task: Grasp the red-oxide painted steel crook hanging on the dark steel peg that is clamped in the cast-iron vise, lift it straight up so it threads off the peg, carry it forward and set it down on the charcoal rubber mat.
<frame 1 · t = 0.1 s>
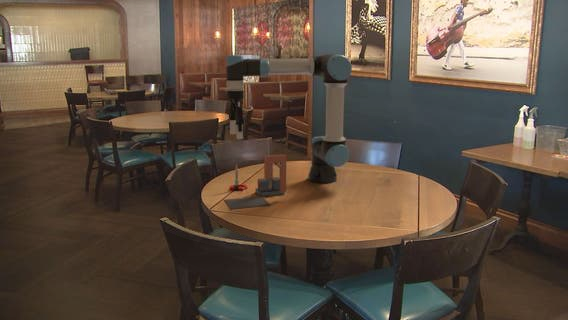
hand: (236, 136, 225), 28 cm above the table, fingers open, 13 cm apart
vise: (269, 193, 234), on the table
crook: (282, 191, 223), point 4 cm above the table, touching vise
mat: (247, 202, 219), on the table
tow hook: (238, 188, 243), on the table
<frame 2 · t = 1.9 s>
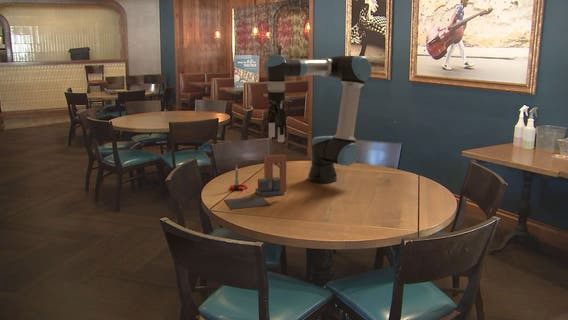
hand: (276, 139, 217), 28 cm above the table, fingers open, 13 cm apart
nothing on the table moved.
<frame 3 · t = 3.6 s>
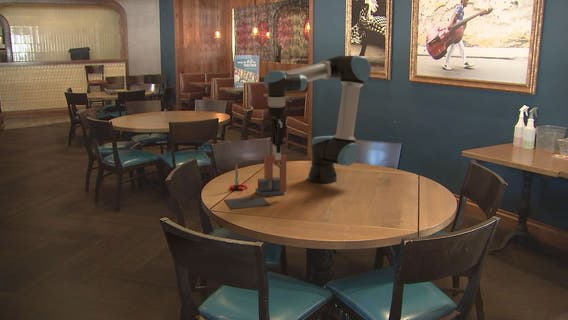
hand: (276, 158, 219), 19 cm above the table, fingers closed on crook, 2 cm apart
crook: (282, 191, 223), point 4 cm above the table, touching gripper, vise
everything else where it was.
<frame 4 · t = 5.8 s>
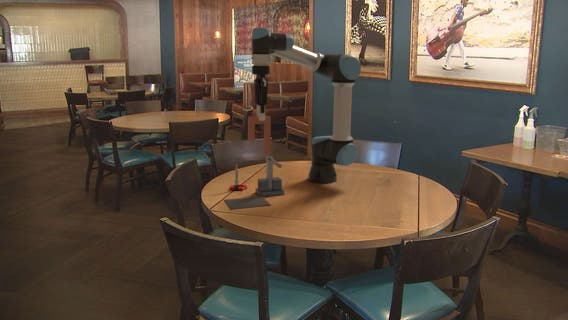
hand: (260, 119, 213), 37 cm above the table, fingers closed on crook, 2 cm apart
crook: (267, 154, 217), point 22 cm above the table, touching gripper
everything else where it was.
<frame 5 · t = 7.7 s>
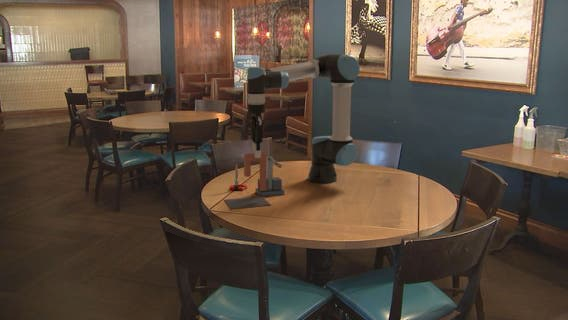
hand: (256, 156, 216), 21 cm above the table, fingers closed on crook, 2 cm apart
crook: (263, 190, 220), point 5 cm above the table, touching gripper
everything else where it was.
when the fingers open (18 cm above the table, at t = 8.3 s): crook moves 9 cm and tips over, resting on mat.
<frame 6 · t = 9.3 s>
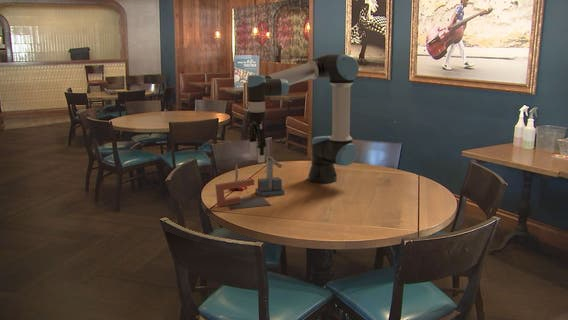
hand: (257, 159, 216), 20 cm above the table, fingers open, 13 cm apart
crook: (253, 181, 218), point 10 cm above the table, tilted 94°, touching mat
everything else where it was.
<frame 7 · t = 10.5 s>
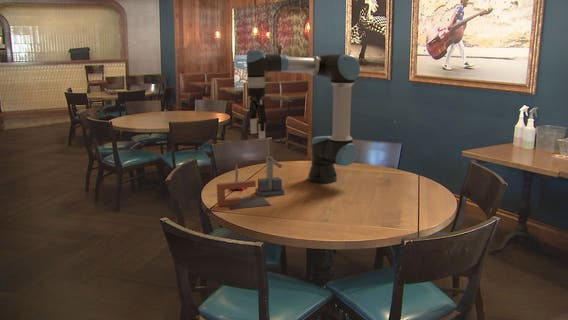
hand: (257, 135, 214), 30 cm above the table, fingers open, 13 cm apart
crook: (254, 183, 218), point 9 cm above the table, tilted 90°, touching mat
everything else where it was.
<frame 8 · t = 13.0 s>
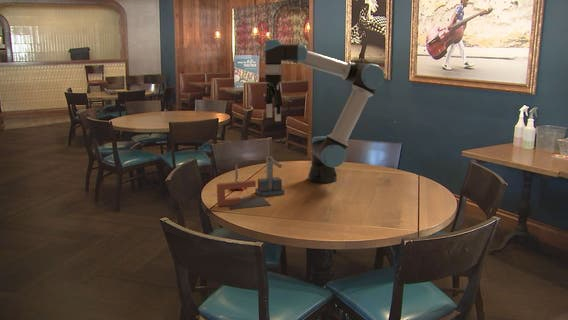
hand: (273, 119, 233), 35 cm above the table, fingers open, 13 cm apart
nothing on the table moved.
at the end: crook inside the target area on the mat (3.8 cm from its centre), point 8.7 cm above the mat's base; crook touching mat; the gripper is holding nothing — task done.
